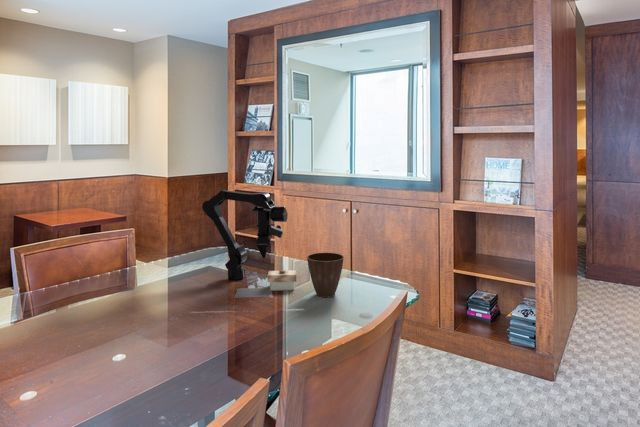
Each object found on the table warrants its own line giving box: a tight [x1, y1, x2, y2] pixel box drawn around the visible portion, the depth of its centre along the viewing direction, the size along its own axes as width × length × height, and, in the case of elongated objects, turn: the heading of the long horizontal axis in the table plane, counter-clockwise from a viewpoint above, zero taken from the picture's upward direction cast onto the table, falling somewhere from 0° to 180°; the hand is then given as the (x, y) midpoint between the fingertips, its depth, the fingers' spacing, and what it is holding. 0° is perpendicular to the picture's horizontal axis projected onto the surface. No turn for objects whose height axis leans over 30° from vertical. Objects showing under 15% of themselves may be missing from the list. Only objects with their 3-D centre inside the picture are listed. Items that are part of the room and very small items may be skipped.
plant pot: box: [306, 252, 344, 298], centre depth 195 cm, size 15×15×16 cm
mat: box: [233, 287, 271, 299], centre depth 197 cm, size 14×12×1 cm
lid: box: [267, 269, 297, 283], centre depth 203 cm, size 12×7×4 cm, turn 92°
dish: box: [269, 282, 295, 292], centre depth 204 cm, size 10×8×4 cm
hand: (264, 255), depth 213 cm, fingers open, 9 cm apart
